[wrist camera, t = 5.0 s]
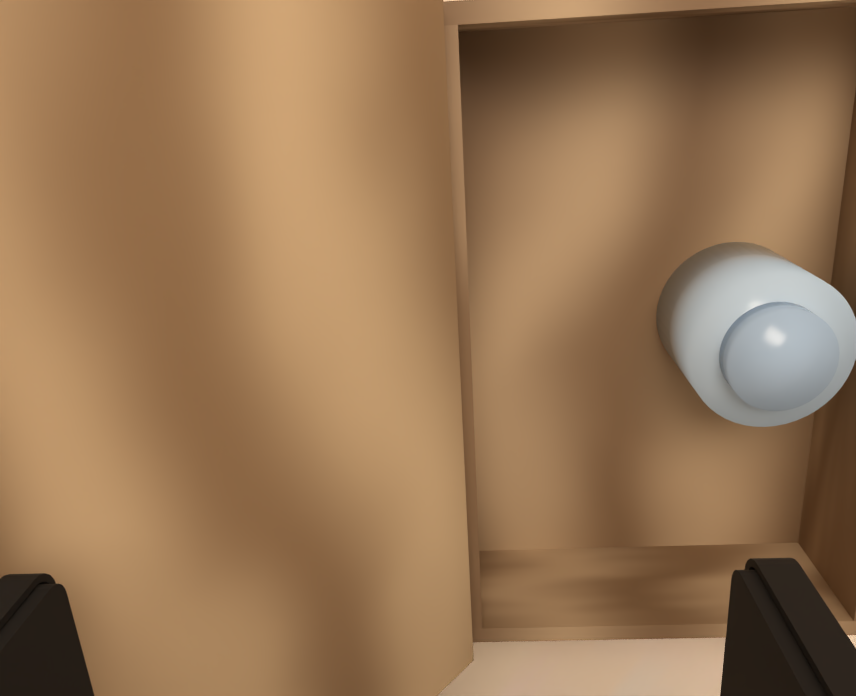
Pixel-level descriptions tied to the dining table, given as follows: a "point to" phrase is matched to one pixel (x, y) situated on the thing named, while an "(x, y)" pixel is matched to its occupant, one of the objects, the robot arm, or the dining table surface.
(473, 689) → the dining table surface
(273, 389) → the lid
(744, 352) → the blue jar
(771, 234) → the box
